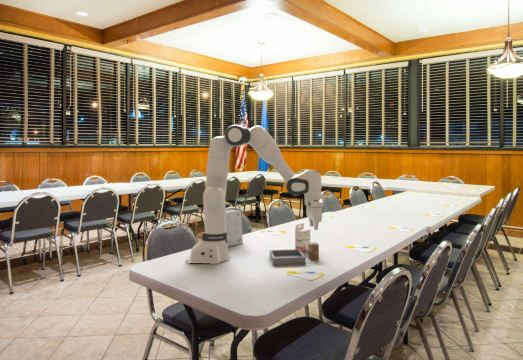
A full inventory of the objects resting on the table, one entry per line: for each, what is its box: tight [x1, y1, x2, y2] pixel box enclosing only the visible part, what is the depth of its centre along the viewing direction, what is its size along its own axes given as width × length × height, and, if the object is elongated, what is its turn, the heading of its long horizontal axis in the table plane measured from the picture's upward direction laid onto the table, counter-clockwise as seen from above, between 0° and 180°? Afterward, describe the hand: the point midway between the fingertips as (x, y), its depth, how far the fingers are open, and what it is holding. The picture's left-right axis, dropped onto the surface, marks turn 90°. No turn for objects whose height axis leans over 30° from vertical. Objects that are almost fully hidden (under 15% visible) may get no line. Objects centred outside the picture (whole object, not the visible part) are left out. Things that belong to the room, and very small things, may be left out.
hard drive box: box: [226, 209, 244, 248], centre depth 241 cm, size 16×8×20 cm, turn 135°
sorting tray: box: [269, 248, 307, 267], centre depth 205 cm, size 16×16×4 cm
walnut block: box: [307, 241, 320, 261], centre depth 207 cm, size 4×4×8 cm
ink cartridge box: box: [294, 222, 311, 253], centre depth 225 cm, size 9×5×15 cm, turn 141°
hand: (313, 228), depth 206 cm, fingers open, 8 cm apart
